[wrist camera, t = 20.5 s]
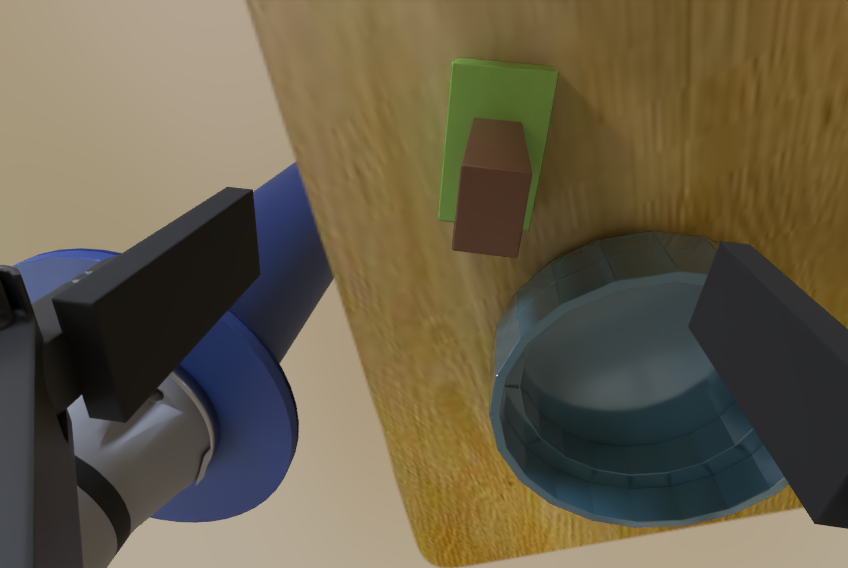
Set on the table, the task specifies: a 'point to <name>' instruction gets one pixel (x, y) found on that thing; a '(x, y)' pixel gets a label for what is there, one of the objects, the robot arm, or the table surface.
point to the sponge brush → (494, 151)
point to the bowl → (623, 390)
